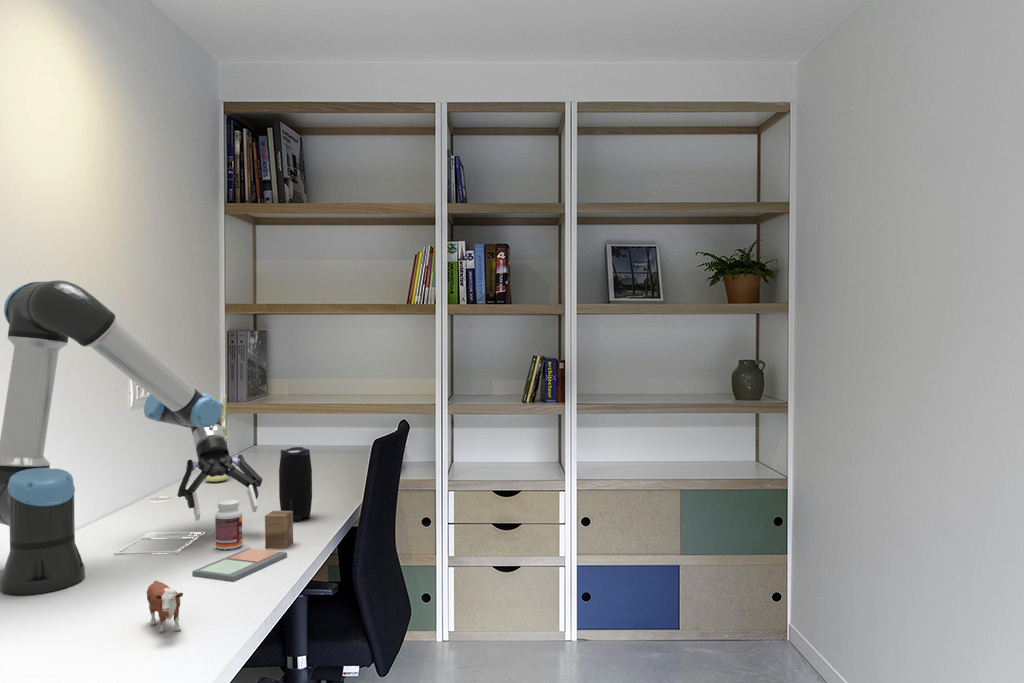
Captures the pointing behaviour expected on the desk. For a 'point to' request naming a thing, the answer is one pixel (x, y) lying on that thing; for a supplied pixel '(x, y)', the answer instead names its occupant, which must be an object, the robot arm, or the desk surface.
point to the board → (240, 564)
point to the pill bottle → (228, 525)
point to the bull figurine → (163, 604)
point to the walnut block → (279, 529)
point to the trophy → (223, 407)
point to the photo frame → (159, 535)
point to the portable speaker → (295, 482)
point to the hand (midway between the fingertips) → (227, 513)
